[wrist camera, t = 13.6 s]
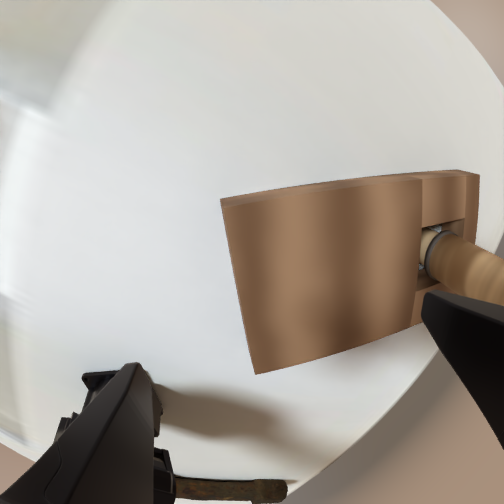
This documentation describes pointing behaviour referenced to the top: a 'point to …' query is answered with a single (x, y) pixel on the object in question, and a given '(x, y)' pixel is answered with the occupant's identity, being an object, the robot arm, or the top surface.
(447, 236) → the oak peg
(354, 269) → the walnut board
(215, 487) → the hand tool
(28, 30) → the top surface
